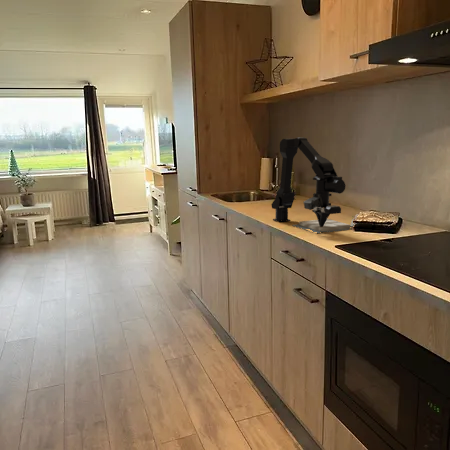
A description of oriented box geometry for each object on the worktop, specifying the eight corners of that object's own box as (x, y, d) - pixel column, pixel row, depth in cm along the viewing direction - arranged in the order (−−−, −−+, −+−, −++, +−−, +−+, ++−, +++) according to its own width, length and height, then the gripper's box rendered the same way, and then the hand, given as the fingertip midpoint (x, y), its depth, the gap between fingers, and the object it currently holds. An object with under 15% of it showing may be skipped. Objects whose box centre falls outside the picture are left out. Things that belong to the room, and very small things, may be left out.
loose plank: (299, 224, 194) (299, 221, 194) (316, 222, 198) (317, 219, 198) (320, 231, 180) (320, 227, 179) (338, 229, 184) (339, 226, 183)
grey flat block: (317, 222, 198) (317, 219, 198) (327, 221, 200) (327, 218, 200) (339, 229, 184) (339, 225, 183) (349, 228, 186) (350, 224, 186)
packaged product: (373, 219, 184) (350, 218, 188) (373, 230, 185) (349, 228, 189) (374, 212, 201) (352, 211, 204) (373, 222, 202) (352, 221, 205)
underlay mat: (292, 225, 194) (292, 224, 194) (325, 221, 202) (325, 221, 202) (316, 233, 177) (316, 233, 177) (352, 229, 185) (352, 228, 185)
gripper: (294, 189, 184) (293, 224, 187) (320, 194, 167) (319, 232, 171) (315, 188, 188) (314, 222, 192) (342, 193, 172) (341, 230, 175)
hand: (321, 226), depth 182 cm, fingers closed, pressing on loose plank
